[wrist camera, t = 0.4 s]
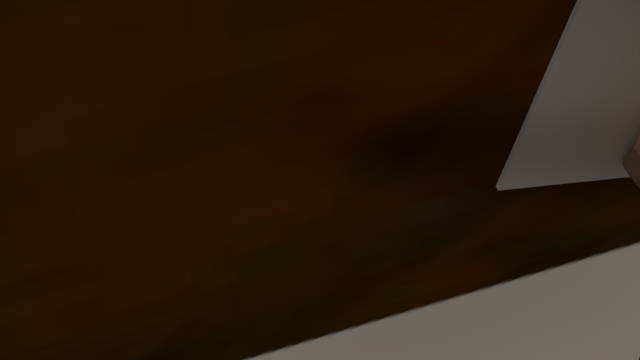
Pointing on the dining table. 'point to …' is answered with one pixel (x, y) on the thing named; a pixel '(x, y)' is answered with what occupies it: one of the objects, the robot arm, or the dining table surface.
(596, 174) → the card
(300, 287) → the dining table surface
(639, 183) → the gate panel
